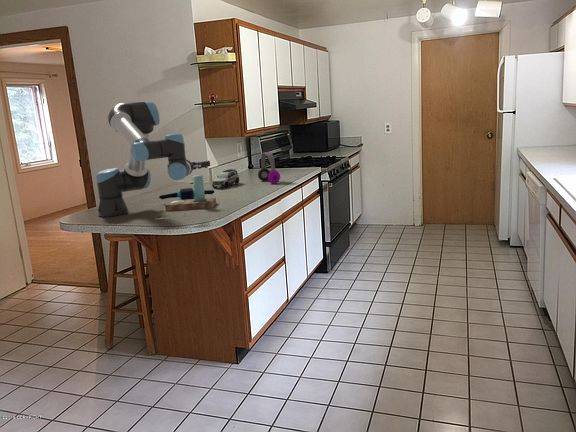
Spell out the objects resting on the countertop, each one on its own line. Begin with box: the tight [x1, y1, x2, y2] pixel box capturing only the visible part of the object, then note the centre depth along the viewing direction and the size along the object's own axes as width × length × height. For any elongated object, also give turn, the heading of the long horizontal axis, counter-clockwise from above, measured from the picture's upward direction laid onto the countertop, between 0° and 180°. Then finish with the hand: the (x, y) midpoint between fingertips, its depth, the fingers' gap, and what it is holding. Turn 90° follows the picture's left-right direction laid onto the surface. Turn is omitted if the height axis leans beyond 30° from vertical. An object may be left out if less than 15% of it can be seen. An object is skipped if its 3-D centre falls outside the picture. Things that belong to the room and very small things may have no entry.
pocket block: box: [164, 197, 217, 212], centre depth 261 cm, size 24×12×4 cm, turn 88°
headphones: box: [257, 151, 281, 185], centre depth 331 cm, size 21×9×20 cm, turn 25°
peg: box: [192, 174, 206, 202], centre depth 259 cm, size 5×5×16 cm
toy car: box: [211, 168, 240, 189], centre depth 329 cm, size 13×24×10 cm, turn 166°
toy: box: [158, 187, 215, 200], centre depth 288 cm, size 31×8×30 cm
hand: (191, 163), depth 246 cm, fingers open, 13 cm apart
